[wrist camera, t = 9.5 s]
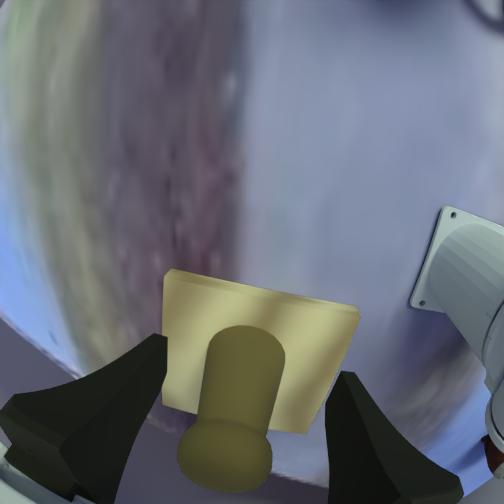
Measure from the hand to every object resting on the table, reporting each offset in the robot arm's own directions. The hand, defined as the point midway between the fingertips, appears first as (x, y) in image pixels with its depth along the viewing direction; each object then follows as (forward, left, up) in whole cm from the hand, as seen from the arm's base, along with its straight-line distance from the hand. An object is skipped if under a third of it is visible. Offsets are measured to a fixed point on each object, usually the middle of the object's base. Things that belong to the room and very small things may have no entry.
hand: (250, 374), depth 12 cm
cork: (0, +7, -9) cm, 11 cm away
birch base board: (0, +8, -10) cm, 13 cm away
